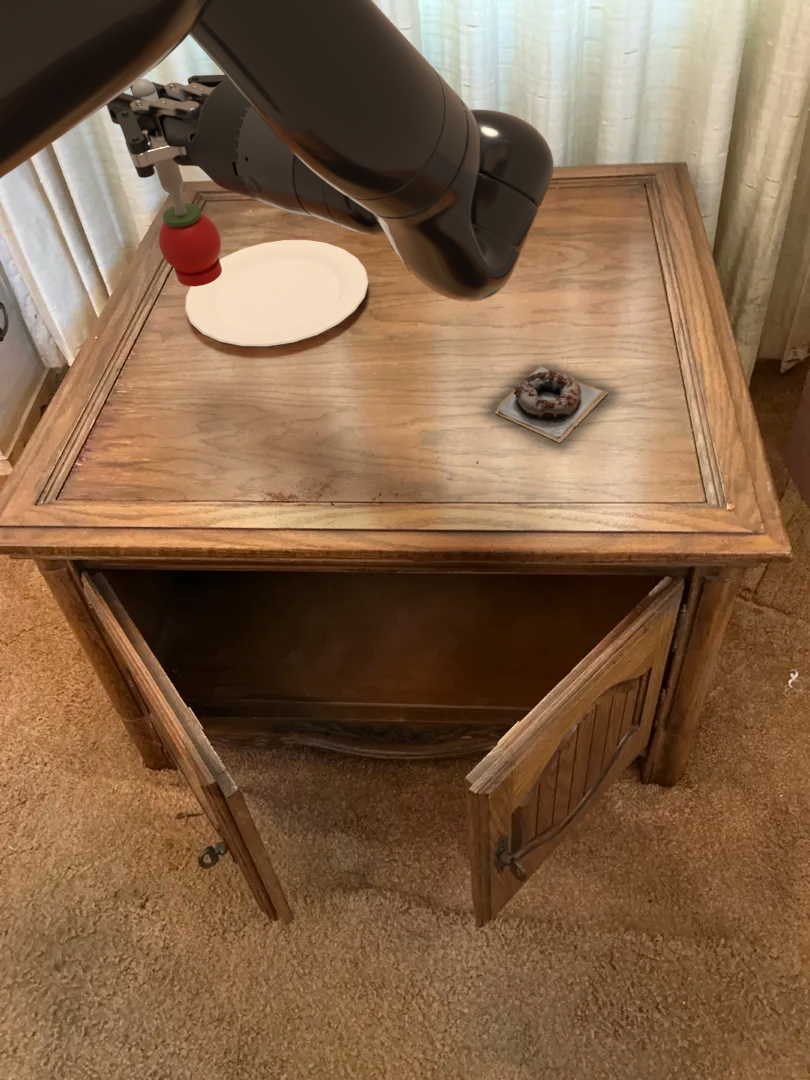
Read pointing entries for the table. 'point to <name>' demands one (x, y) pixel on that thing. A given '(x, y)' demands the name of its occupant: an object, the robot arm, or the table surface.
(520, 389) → the donut
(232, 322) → the plate
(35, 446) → the table surface
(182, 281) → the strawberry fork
